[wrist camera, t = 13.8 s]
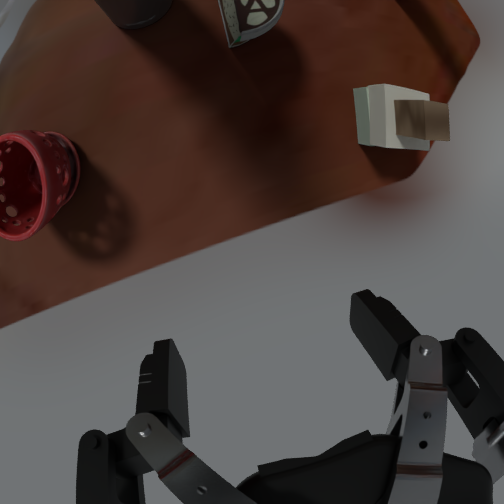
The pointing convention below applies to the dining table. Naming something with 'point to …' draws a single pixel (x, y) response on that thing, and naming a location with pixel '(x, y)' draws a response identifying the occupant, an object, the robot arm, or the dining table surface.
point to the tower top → (391, 117)
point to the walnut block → (422, 119)
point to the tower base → (362, 115)
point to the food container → (248, 18)
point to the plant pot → (35, 179)
